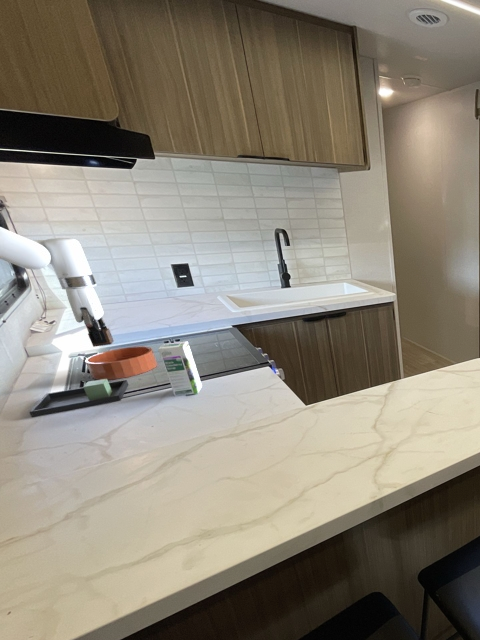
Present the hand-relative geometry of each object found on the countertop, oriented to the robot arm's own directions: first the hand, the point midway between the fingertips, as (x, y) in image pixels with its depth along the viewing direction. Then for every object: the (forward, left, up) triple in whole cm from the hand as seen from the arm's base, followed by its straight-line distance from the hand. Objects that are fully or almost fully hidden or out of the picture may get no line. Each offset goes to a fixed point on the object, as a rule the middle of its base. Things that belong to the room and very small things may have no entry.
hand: (102, 340), depth 126 cm
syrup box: (+21, -31, -12) cm, 39 cm away
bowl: (+3, 0, -11) cm, 12 cm away
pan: (-3, -22, -11) cm, 25 cm away
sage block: (0, -22, -11) cm, 24 cm away
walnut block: (0, 0, -1) cm, 1 cm away
